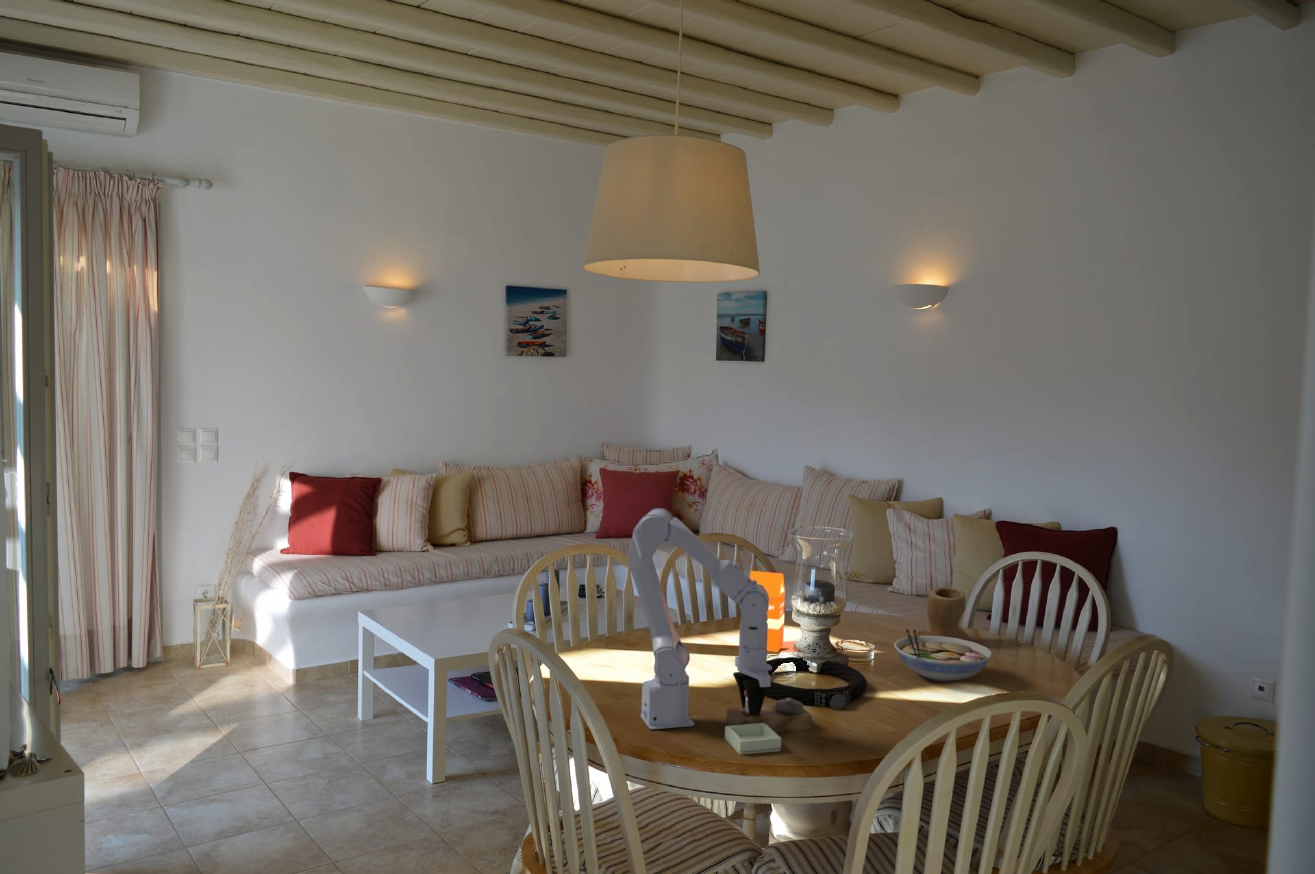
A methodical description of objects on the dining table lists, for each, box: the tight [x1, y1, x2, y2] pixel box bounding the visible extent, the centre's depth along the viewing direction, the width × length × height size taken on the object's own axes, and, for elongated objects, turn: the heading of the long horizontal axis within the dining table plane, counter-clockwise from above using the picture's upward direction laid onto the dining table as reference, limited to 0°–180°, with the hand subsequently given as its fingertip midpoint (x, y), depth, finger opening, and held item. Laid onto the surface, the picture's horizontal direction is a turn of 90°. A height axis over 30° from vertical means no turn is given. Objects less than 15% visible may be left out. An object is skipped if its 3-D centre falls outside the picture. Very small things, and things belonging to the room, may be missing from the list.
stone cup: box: [916, 586, 969, 640], centre depth 270 cm, size 15×12×15 cm
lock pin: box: [744, 689, 757, 717], centre depth 202 cm, size 3×3×8 cm
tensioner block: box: [725, 698, 813, 733], centre depth 203 cm, size 16×7×5 cm, turn 106°
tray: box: [724, 723, 782, 755], centre depth 193 cm, size 8×8×2 cm
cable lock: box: [765, 656, 868, 711], centre depth 229 cm, size 28×4×30 cm
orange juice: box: [749, 570, 786, 653], centre depth 262 cm, size 8×9×20 cm
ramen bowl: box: [893, 628, 993, 683], centre depth 239 cm, size 25×23×8 cm
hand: (751, 710), depth 202 cm, fingers open, 3 cm apart
